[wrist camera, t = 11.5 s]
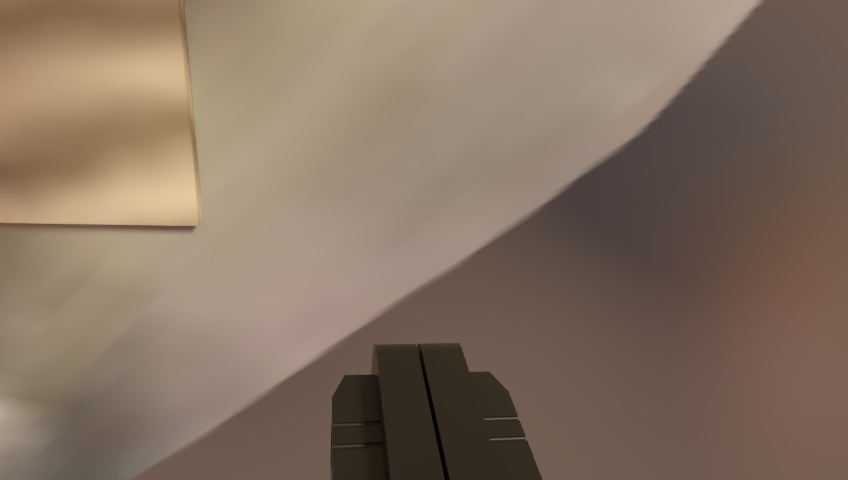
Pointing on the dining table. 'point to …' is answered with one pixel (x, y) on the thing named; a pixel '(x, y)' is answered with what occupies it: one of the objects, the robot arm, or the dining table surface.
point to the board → (96, 114)
